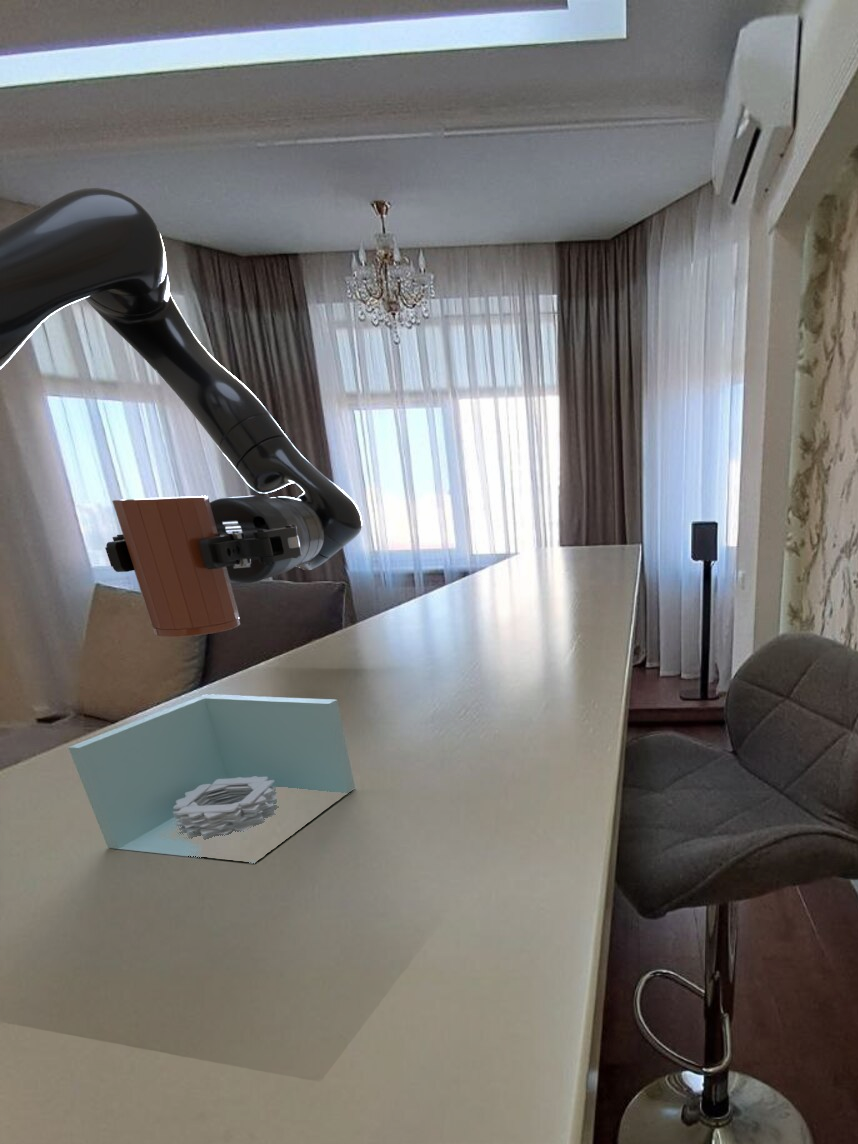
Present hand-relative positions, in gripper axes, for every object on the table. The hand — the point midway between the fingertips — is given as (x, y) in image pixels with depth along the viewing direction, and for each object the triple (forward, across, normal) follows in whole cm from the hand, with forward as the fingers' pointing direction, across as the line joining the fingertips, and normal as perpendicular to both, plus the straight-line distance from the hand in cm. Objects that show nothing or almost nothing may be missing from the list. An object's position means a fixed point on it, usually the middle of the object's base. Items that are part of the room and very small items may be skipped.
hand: (160, 556), depth 52 cm
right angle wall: (+10, +6, +18) cm, 21 cm away
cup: (-2, 0, +6) cm, 6 cm away
